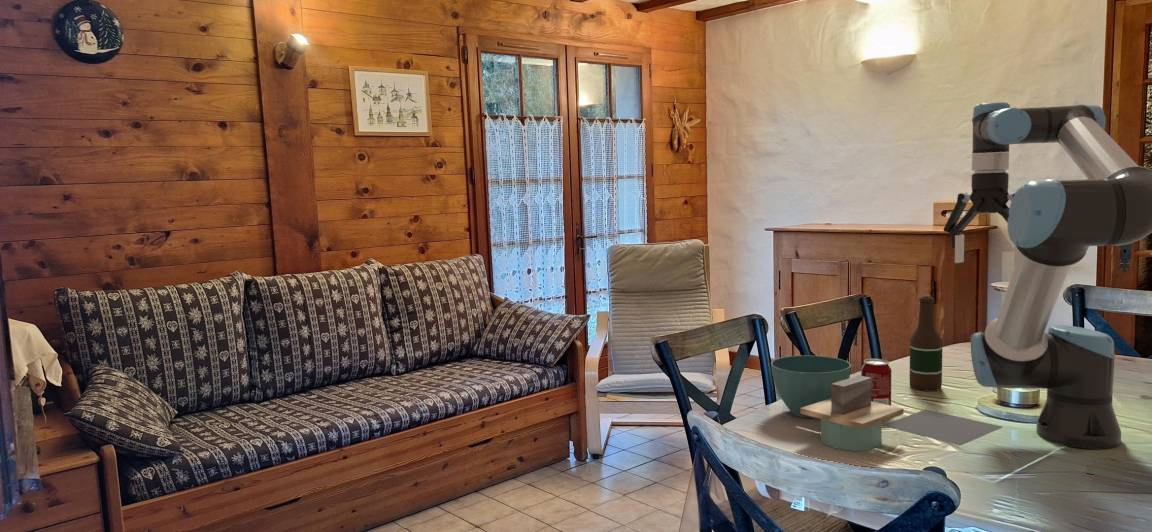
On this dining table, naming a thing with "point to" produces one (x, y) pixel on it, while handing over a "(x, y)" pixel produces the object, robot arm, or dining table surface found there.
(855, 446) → the bowl
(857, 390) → the lid
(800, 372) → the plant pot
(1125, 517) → the dining table surface
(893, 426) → the mat
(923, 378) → the beer bottle
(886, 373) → the soda can
